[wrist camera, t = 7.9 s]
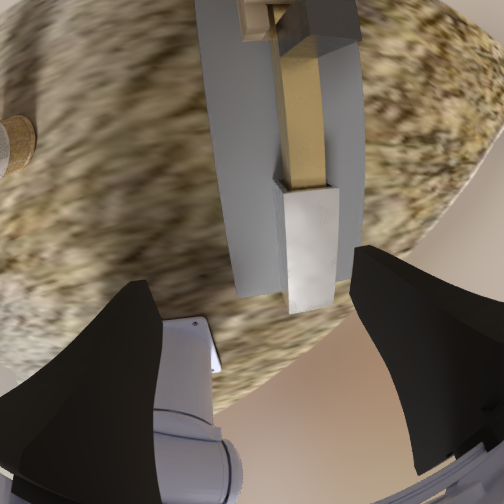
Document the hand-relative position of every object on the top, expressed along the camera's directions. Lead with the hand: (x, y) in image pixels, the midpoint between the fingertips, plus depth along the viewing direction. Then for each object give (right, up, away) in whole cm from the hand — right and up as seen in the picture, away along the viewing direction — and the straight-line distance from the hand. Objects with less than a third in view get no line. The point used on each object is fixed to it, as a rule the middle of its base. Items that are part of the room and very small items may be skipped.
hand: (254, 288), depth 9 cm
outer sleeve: (+3, +2, +10) cm, 11 cm away
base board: (+2, +8, +8) cm, 12 cm away
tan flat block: (+2, +10, +5) cm, 12 cm away
